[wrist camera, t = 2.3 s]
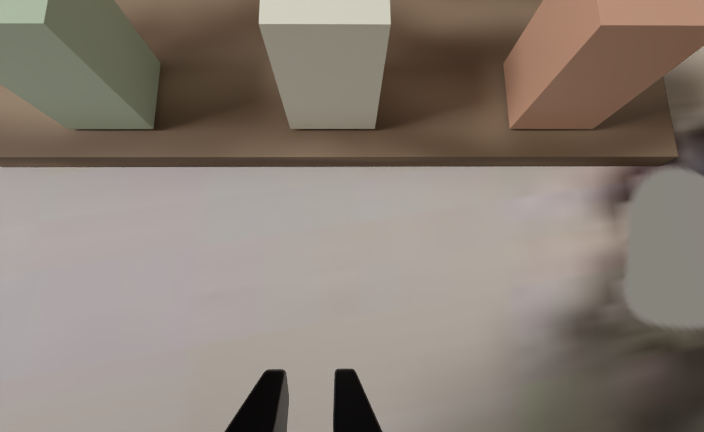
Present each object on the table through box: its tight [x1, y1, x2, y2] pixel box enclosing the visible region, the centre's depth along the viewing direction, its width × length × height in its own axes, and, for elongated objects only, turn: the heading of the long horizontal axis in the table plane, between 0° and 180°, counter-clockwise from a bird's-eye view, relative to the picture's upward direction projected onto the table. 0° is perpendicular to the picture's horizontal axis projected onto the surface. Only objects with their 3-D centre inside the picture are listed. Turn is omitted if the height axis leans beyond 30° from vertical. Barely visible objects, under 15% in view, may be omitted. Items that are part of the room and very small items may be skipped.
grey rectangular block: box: [259, 0, 391, 129], centre depth 19 cm, size 4×5×8 cm
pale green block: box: [0, 0, 161, 129], centre depth 19 cm, size 4×5×8 cm
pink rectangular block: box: [503, 0, 704, 129], centre depth 19 cm, size 4×5×8 cm
